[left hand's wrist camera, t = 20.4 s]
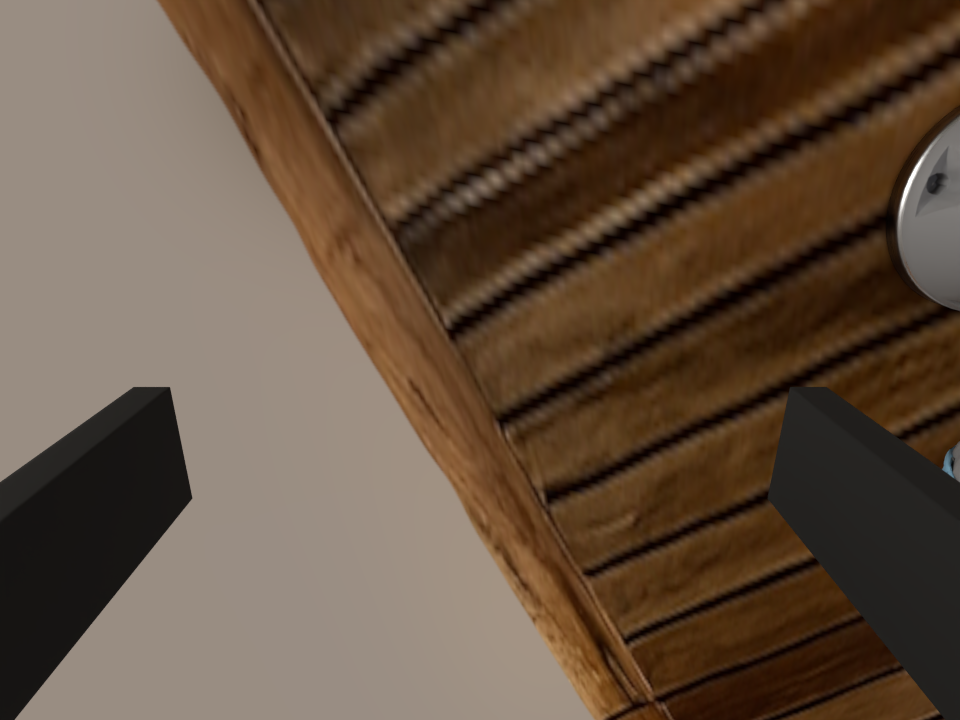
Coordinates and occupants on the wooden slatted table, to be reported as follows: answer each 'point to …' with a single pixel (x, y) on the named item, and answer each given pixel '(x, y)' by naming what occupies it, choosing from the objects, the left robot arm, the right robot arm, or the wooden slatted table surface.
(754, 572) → the wooden slatted table surface
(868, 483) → the left robot arm
